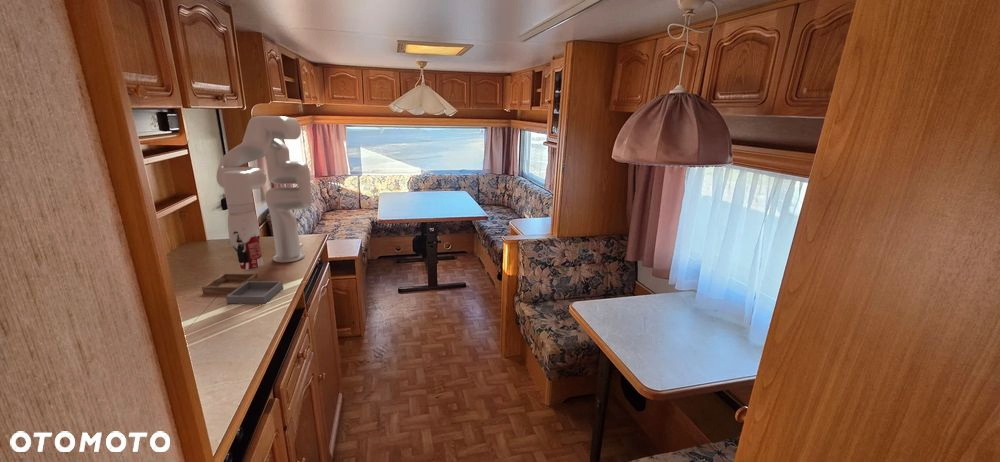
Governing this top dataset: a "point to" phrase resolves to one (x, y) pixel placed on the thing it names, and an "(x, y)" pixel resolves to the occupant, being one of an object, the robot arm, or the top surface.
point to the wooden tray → (212, 286)
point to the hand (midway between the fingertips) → (249, 258)
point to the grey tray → (254, 293)
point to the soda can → (252, 255)
